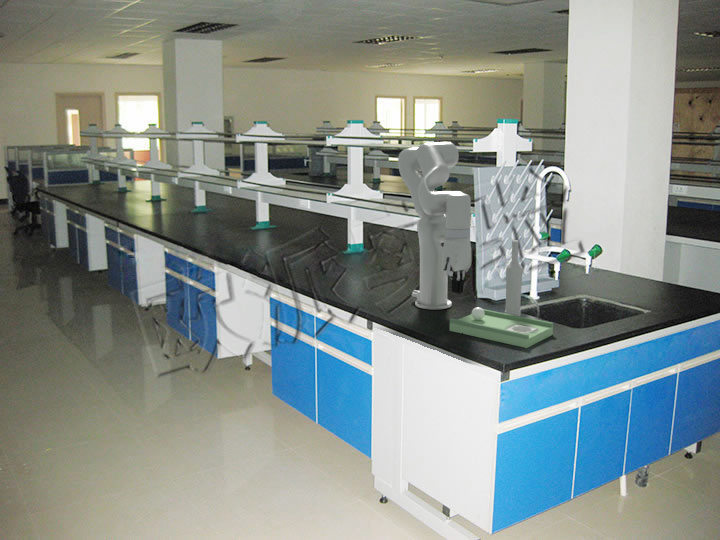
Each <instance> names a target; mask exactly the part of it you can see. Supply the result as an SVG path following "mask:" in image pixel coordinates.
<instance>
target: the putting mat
mask: <svg viewBox="0 0 720 540" xmlns="http://www.w3.org/2000/svg"><path fill="white" fill-rule="evenodd" d="M482 309H483V310H484V312H485V315H484V317H483V319H481V320H475V319H474V318H473V317H472V314H469V315H466V316H463V317H461V318H459V319H457V318H449V331H450V332H455V333H459V334H462V333H463V334H464V335H468V336H473V337H477V338H481V339H485V340H489V341H493V342H498V343H502V344H503V343H504V344H508V345H512V346H517V347H519V348H520V347H521V348H525V349H527V348H529V347H531V346H533V345H536V344H537V343H539V342H541V341H543V340H545V339H547V338H549V337H551V336H553V334H554V333H553V332H554V322H552V321H551V322H550V321H547V320H542V319H540V320H539V319H536V318H530V317H525V316H521V315H520V316H516V315H511V314H506V313H505V312H499V311H495V310H489V309H485V308H482Z"/></svg>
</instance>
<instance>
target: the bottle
mask: <svg viewBox="0 0 720 540" xmlns="http://www.w3.org/2000/svg"><path fill="white" fill-rule="evenodd" d="M519 242H520V241H519V240H517V239H515V240H511V261H510V262H509V264H507V265H506V267H505V270H506V272H505V275H506V277H505V310H504V313H506V314H511V315H516V316H521V315H522V313H521V301H522V285H523V283H522V282H523V268H524V267H523V266H522V265H521V264H520V262H519V244H520V243H519Z"/></svg>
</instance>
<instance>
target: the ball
mask: <svg viewBox="0 0 720 540" xmlns="http://www.w3.org/2000/svg"><path fill="white" fill-rule="evenodd" d="M483 309H484V308H482V307H480V306H479V307H474V308H473V309H472V310H471V314H472V317H473V318H474V319H475V320H481V319H483V317H484V315H485V312H484V310H483ZM471 314H470V315H471Z"/></svg>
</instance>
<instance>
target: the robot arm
mask: <svg viewBox="0 0 720 540" xmlns="http://www.w3.org/2000/svg"><path fill="white" fill-rule="evenodd" d="M458 162H459V150H458V148H457V145H455V144H454V143H453V142H450V141H440V142H439V141H437V142H436V141H435V142H434V141H433V142H432V141H431V142H430V141H429V142H428V141H427V142H423V143H422V144H420V145H419V146H416V147H415V146H413V147H408V148H405V149H403V150H401V152H400V153H399V154H398V157H397V165H398V170H399V174H400V177H401V179H402V181H403V183H404V184H405V186H406V187H407V189H408V191H409V193H410V196H411V201H412V203H413V207H414V209H415V213H416V214H417V216H418V217H420V218H419V219H418V222H417V236H418V243H419V290H417V289H414V290H413V291H412V292H411V296H412V297H414V298H416V300H415V302H414V304H415V306H416V308H420V309H423V310H433V311H435V310H445V309H449V308H451V307H452V304H453V303H452V301H451V300H449V299H448V282H449V281H448V277H450V280H451V292H452V293H456V294H461V293H463V292H464V280H465V275H466V273H467V272H469V269H470V267H471V266H472V244H471V203H472V202H471V199H472V198H471V196H470V195H469V194H467V193H464V192H462V191H459V190H453V191H452V190H440V191H439V190H435V189H436V188H438V187H439V188H440V187H442V185H444V184H445V183H446V182H447V181H448V180H449V178H450V175H451V173H450V169H452V168H453V167H455V166H456V165H457V164H458ZM442 243H443V246H442Z"/></svg>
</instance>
